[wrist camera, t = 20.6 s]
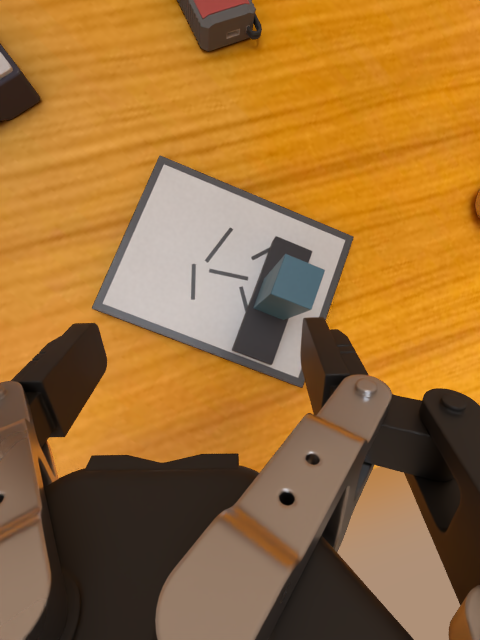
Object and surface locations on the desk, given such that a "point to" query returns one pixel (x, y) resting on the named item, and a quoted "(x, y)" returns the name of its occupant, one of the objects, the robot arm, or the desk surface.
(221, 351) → the whiteboard
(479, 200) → the plastic bottle
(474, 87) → the desk surface
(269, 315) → the eraser
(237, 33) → the walkie-talkie
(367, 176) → the desk surface
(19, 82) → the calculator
